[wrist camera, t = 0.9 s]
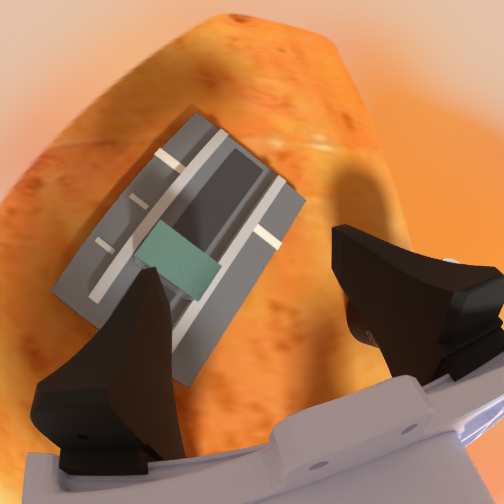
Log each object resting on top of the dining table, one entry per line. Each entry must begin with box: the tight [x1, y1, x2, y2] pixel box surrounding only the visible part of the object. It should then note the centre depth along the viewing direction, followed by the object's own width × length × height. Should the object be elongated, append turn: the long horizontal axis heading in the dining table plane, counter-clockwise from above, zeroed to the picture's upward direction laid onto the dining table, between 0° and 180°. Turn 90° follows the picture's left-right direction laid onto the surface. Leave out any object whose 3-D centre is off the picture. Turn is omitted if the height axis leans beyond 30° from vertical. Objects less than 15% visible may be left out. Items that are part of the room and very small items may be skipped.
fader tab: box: [134, 219, 222, 302], centre depth 20 cm, size 2×4×5 cm, turn 55°
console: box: [51, 112, 306, 388], centre depth 23 cm, size 18×12×2 cm
